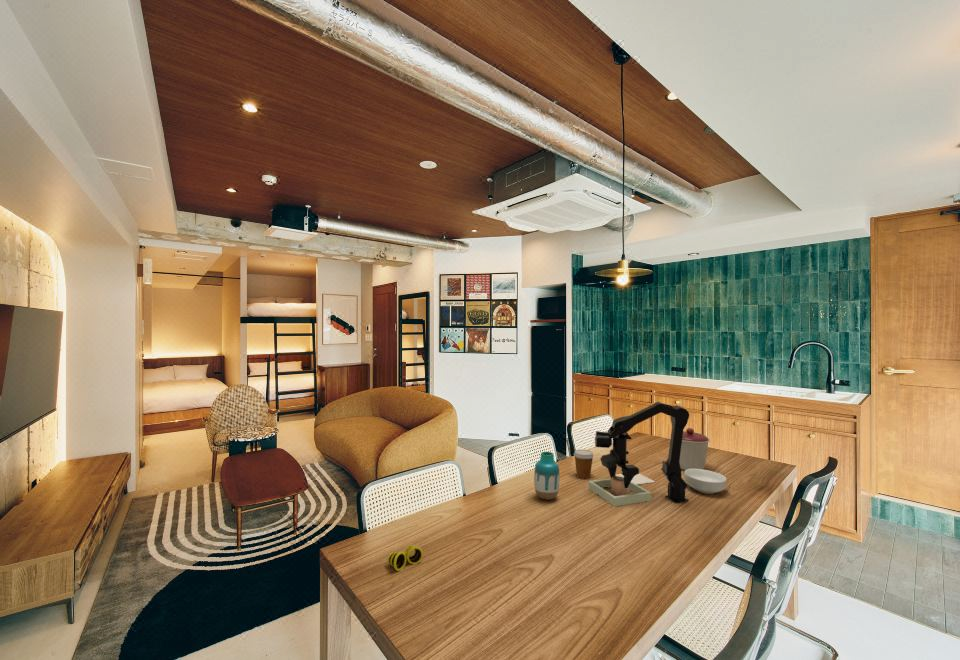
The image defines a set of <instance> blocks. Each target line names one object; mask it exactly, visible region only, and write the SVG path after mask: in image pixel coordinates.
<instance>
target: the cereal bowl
mask: <svg viewBox="0 0 960 660" xmlns="http://www.w3.org/2000/svg"><path fill="white" fill-rule="evenodd" d="M683 473H684V474H683V475H684V481H685V482H686V483H687V485H689V486H690V487H692V488H693V489H694V490H695V491H697V492H699V493H703V494H708V495H709V494H714V493H720V492H722V491H723V490H725V488H726V487H727V481H728V480H727V478H726V476H725V475H723V474H722V473H718V472H717V471H711V470H708V469H687V470H684V472H683Z"/></svg>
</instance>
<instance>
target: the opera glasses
mask: <svg viewBox="0 0 960 660" xmlns="http://www.w3.org/2000/svg"><path fill="white" fill-rule="evenodd" d="M412 551H414V553H413V554H412V555H410V554H411V552H412ZM423 556H424V552H423V550H422V548H421V547H419V546H415V545H409V546H408V547H406V549H405V552H404V551H399V552H393V551H392V552H391V553H389V555H388V556H387V564H388V565H390V566H391V567H393V568H394V569H395V571H397V572H400V571H402V570H403V569H404V568H405V566H406V564H407V562H408V563H409V564H411V565H417V564H419V563H420V562H421V561H422V559H423Z"/></svg>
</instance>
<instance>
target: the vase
mask: <svg viewBox="0 0 960 660" xmlns="http://www.w3.org/2000/svg"><path fill="white" fill-rule="evenodd" d="M539 459H540V460H537V461H536V463H535V466H534V476H533V477H534V478H533V479H534V480H533V481H534V482H533V483H534V492H535V494H536V495H537V497H538V498H540V499H541V500H542V499H543V500H547V501H549V500H550V501H551V500H554V499H556V497H557V496H558V494H559V491H560V482H561V481H560V480H561V479H560V467H559V464H558V462H556V461H555V457H554V453H553V452H551V451H542V452H541V453H540V457H539Z"/></svg>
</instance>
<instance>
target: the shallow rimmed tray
mask: <svg viewBox="0 0 960 660" xmlns="http://www.w3.org/2000/svg"><path fill="white" fill-rule="evenodd" d="M602 487H608V488H611V477H609V478H604V479H602V478H601V479H596V480H589V481H588V490H589V489H590V490H589V491H591V490H592V491H593V493H594V492H595V493H596V494H595V493H594V494H595V495H597V494H598V495H599V496H598V495H597V496H598V497H599V498H601V497H602V498H601V499H602V500H604V499H605V500H606V502H607V503H608V502H609V503H608V504H610V505H611V504H612V505H611V506H613V507H621V506H626V505H632V503H634V504H638V503H639V502H640V503H645V501H647V502H651V501H652V492H651V491H650V490H648V489H645V488H644V487H642V486H641V485H636V484H635V483H633V482H630V484H629V486H628V489H627V490H629V491H630V490H631V491H630V492H632V491H633V492H632V493H630V494H627V495H621V496H614V495H612V494H611V492H609V491H607V490H606V489H605V488H602ZM592 491H591V492H592ZM605 500H604V501H605Z"/></svg>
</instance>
